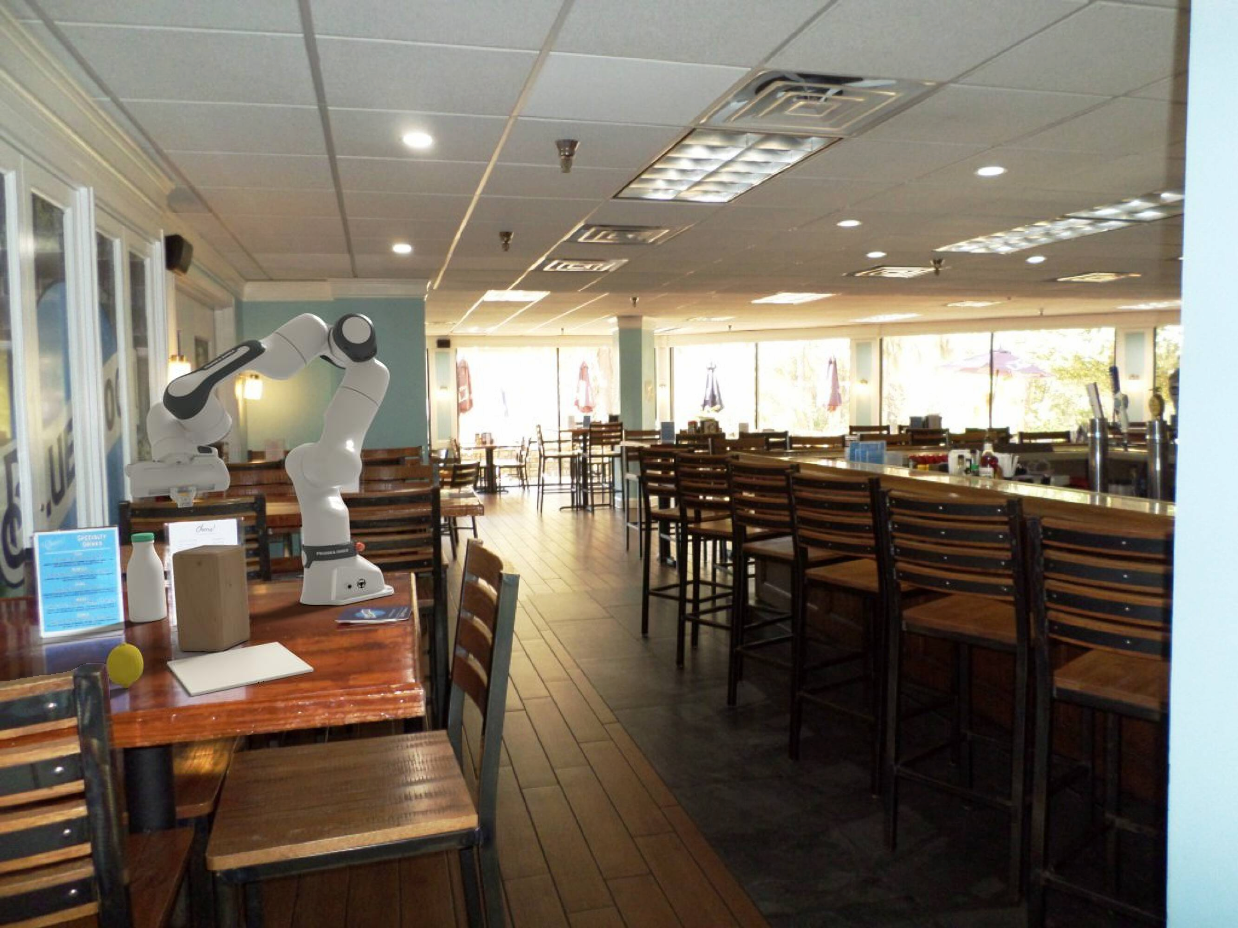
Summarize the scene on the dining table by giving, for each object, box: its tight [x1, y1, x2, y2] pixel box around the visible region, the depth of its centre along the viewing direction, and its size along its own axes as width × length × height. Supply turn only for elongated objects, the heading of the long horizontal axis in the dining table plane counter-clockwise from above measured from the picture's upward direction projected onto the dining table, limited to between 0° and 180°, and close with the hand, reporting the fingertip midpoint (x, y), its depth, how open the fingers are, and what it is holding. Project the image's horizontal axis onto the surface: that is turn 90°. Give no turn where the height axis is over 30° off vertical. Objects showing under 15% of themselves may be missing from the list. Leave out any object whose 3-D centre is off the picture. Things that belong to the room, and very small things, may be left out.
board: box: [166, 641, 314, 697], centre depth 160 cm, size 20×24×1 cm
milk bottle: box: [126, 532, 168, 623], centre depth 202 cm, size 8×8×20 cm
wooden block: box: [171, 544, 251, 653], centre depth 176 cm, size 10×10×20 cm
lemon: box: [106, 642, 144, 689], centre depth 150 cm, size 6×6×8 cm
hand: (186, 505), depth 192 cm, fingers closed
